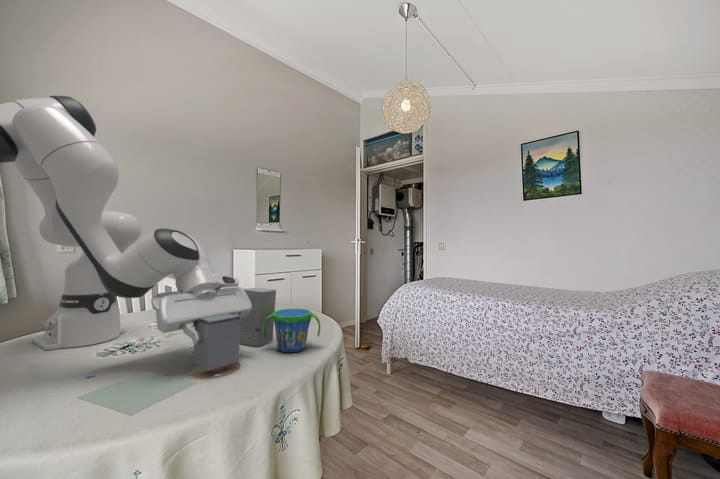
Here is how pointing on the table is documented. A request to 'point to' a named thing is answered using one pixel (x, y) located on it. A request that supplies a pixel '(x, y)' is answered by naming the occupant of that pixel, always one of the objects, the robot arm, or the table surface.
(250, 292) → the skincare box
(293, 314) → the snack cup
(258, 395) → the table surface
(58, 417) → the table surface
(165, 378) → the mat
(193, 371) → the brown knobbed lid
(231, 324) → the gray box
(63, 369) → the table surface
